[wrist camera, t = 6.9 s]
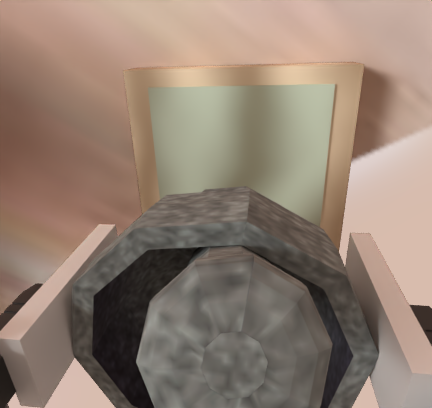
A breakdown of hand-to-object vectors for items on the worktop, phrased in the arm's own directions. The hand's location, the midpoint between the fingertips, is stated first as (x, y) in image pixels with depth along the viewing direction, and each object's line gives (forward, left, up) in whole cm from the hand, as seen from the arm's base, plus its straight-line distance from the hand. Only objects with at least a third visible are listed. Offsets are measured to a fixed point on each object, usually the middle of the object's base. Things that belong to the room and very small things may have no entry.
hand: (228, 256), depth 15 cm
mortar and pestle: (0, 0, -2) cm, 2 cm away
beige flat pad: (0, 0, -12) cm, 12 cm away
